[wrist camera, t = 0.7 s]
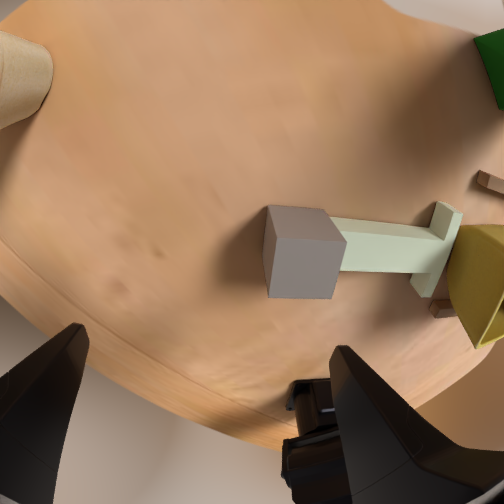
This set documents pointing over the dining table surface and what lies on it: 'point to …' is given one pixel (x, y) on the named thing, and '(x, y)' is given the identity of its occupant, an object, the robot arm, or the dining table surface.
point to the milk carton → (494, 61)
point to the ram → (351, 250)
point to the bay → (445, 306)
